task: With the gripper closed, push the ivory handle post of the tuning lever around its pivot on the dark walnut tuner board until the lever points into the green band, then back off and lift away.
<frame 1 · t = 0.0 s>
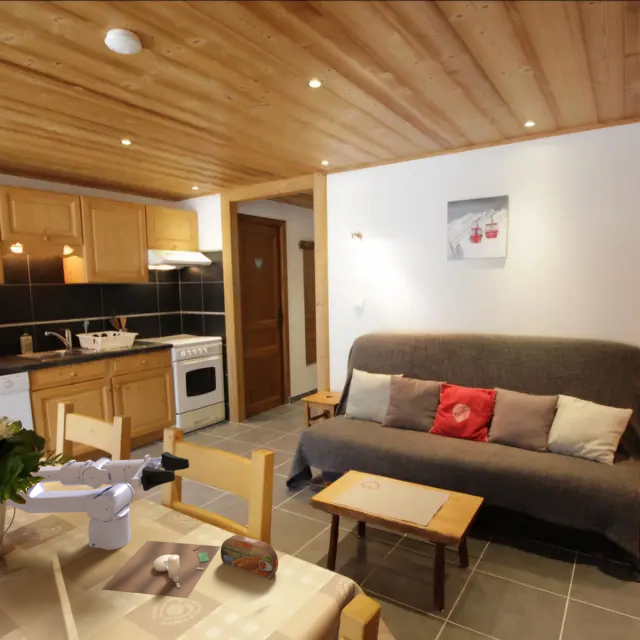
hand: (181, 469, 114), 22 cm above the table, tool horizontal, fingers open, 7 cm apart
tuner board: (165, 572, 108), on the table
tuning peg: (168, 560, 105), point 4 cm above the table, hinge at 0.0°
tin: (249, 575, 107), on the table
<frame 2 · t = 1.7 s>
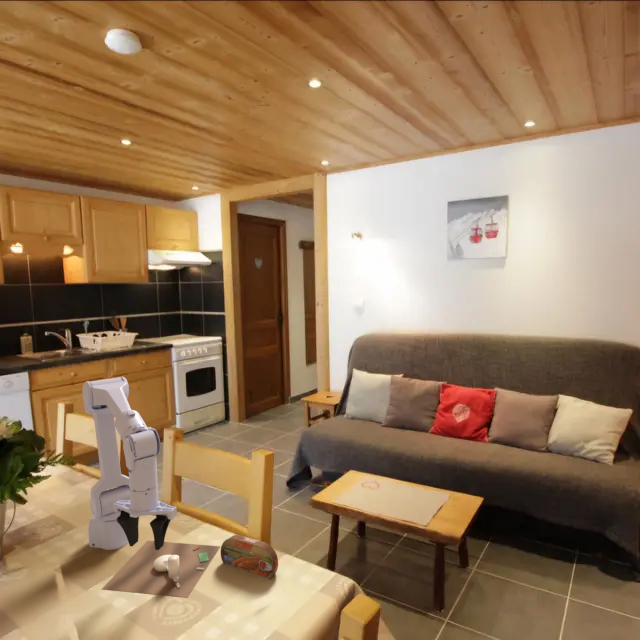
hand: (146, 545, 101), 10 cm above the table, tool pointing down, fingers open, 6 cm apart
nothing on the table moved.
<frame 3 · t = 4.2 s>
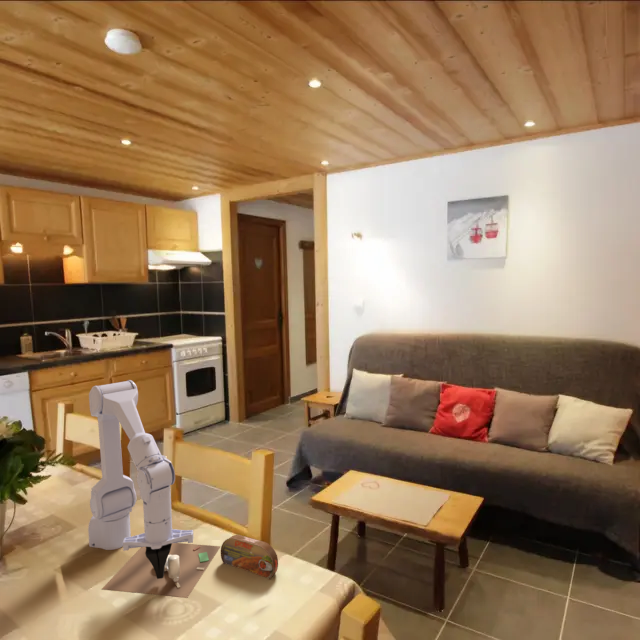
hand: (160, 575, 101), 3 cm above the table, tool pointing down, fingers closed
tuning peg: (168, 560, 105), point 4 cm above the table, hinge at 0.0°, touching gripper
everything else where it was.
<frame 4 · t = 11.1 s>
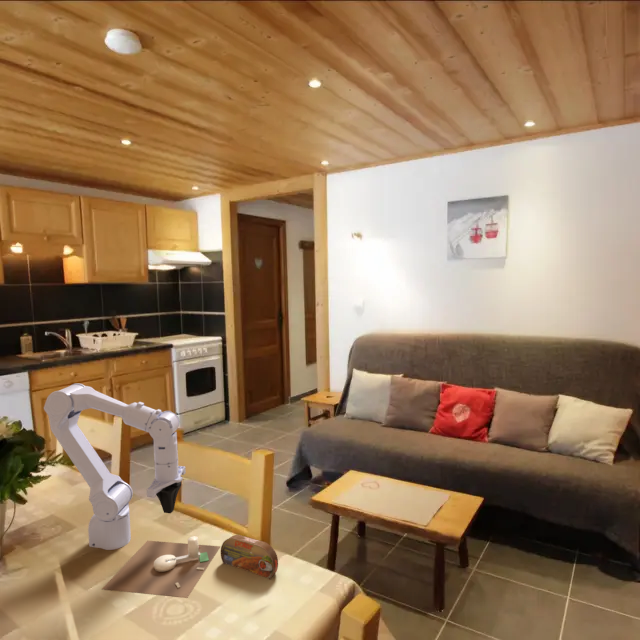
hand: (168, 511, 118), 9 cm above the table, tool pointing down, fingers closed
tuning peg: (177, 552, 108), point 4 cm above the table, hinge at 74.3°
everything else where it was.
at the end: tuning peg at +74° (first picture: +0°); the gripper is holding nothing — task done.
